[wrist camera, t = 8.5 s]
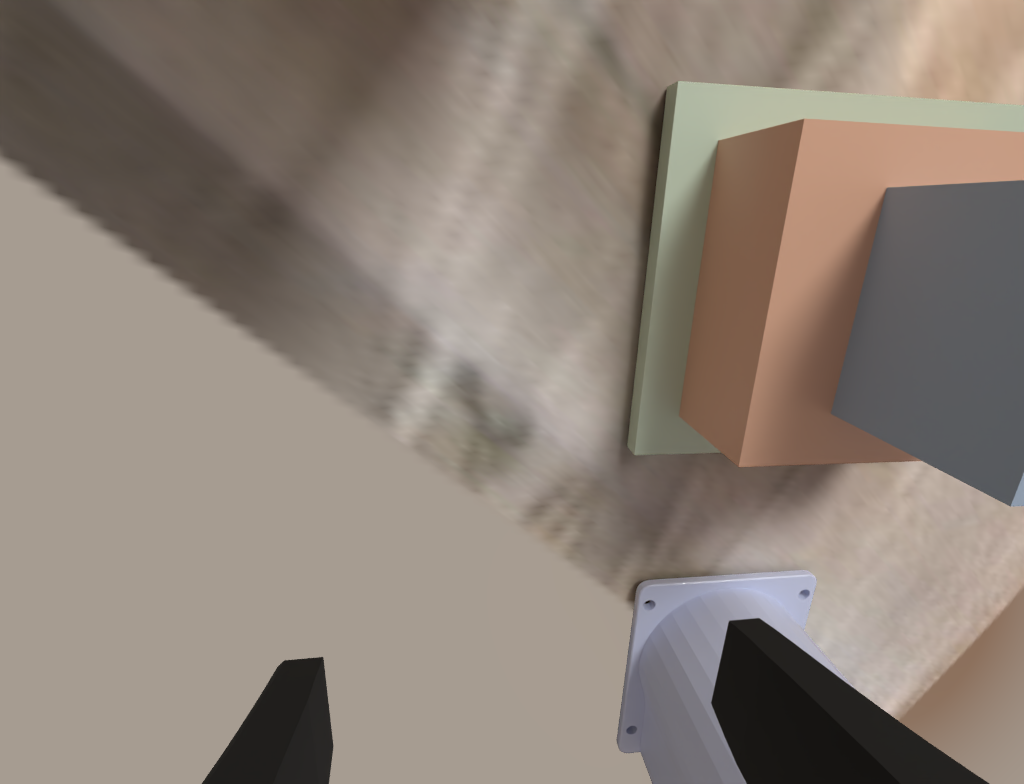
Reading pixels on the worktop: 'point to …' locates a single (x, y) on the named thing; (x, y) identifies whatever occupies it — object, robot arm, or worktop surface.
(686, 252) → the tower base
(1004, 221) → the blue brick
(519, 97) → the worktop surface
